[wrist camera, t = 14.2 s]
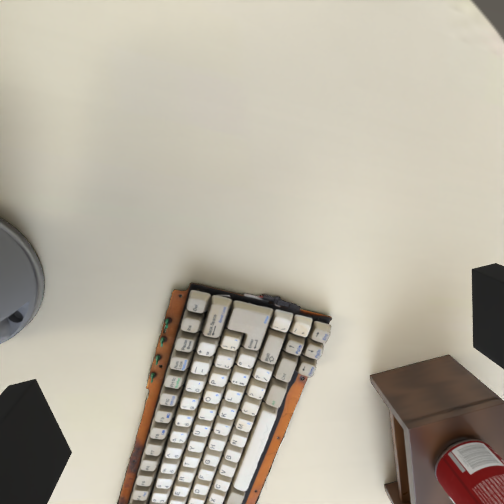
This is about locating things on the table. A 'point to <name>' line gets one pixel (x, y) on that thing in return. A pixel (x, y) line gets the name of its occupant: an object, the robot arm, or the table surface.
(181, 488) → the mechanical keyboard
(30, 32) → the table surface
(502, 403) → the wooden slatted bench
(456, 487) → the soda can
